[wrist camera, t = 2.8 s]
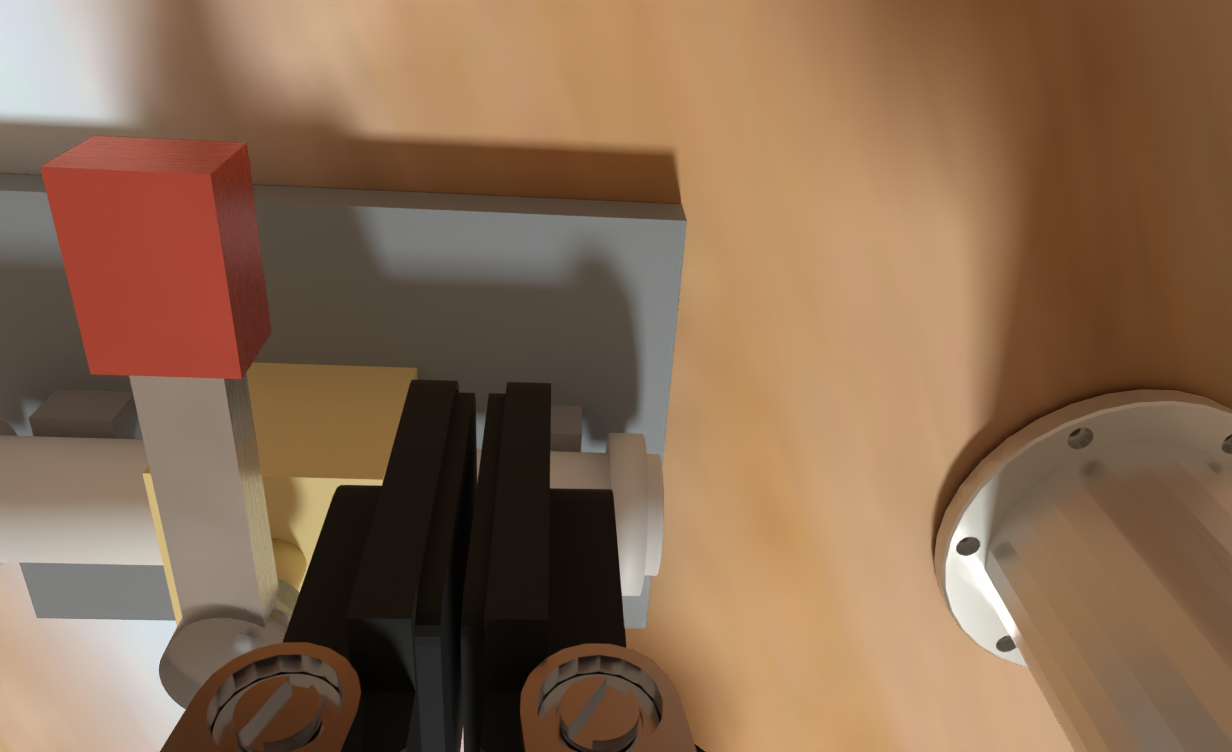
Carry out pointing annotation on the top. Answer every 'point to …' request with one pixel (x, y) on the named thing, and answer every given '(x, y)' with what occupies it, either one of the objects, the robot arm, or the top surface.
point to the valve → (346, 373)
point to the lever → (182, 368)
